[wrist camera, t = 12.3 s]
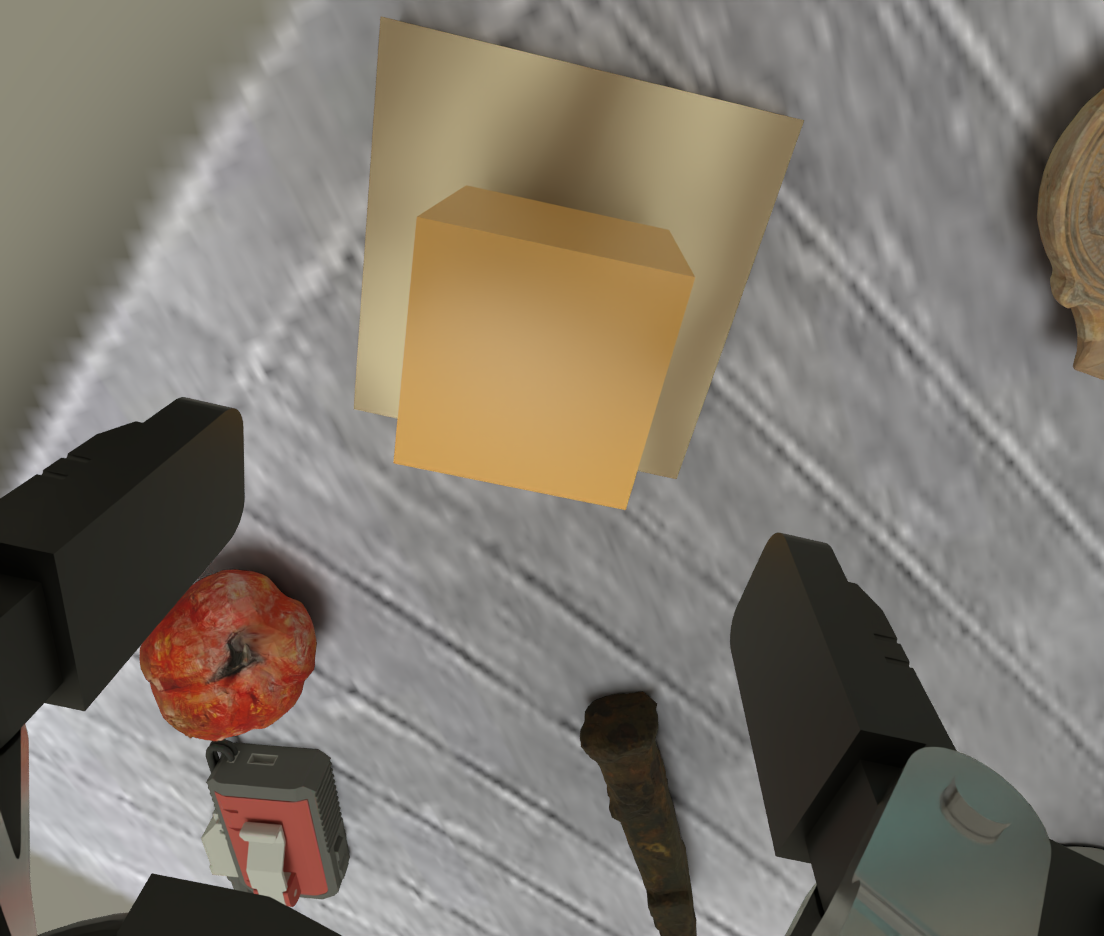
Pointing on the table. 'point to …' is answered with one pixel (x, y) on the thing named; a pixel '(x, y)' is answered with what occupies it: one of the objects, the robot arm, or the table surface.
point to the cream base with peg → (565, 188)
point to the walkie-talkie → (275, 821)
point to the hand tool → (642, 803)
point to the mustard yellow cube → (537, 344)
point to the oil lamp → (1078, 229)
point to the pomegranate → (229, 656)
